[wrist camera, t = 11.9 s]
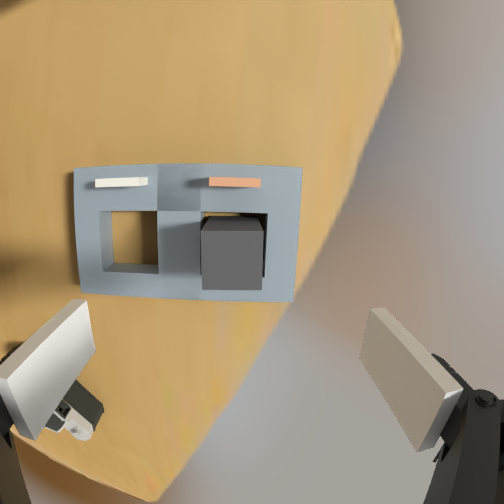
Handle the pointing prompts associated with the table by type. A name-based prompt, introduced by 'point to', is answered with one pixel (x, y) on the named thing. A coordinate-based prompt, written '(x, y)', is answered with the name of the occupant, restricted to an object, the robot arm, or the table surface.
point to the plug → (232, 253)
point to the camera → (76, 413)
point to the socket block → (184, 226)
